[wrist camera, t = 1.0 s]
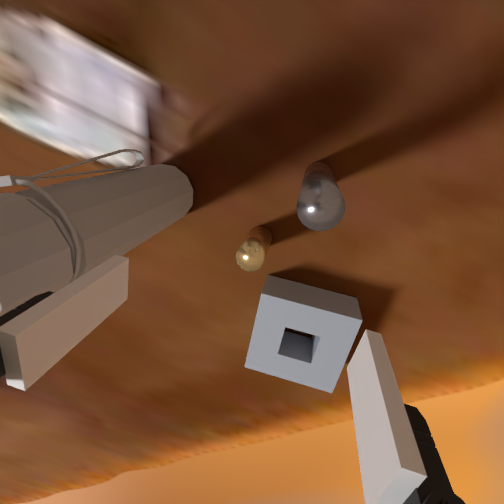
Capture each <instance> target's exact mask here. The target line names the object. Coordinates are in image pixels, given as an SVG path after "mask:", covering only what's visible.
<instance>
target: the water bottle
mask: <svg viewBox="0 0 504 504" xmlns="http://www.w3.org/2000/svg"><path fill="white" fill-rule="evenodd" d="M121 152H131V153H133V154H135V155H136V158H137V162H136V163H135V164H134V165H133V166H127V167H119V168H112V169H104V170H96V171H89V172H81V173H74V174H66V175H59V176H51V177H44V178H36V177H39V176H43V175H46V174H50V173H53V172H56V171H60V170H63V169H67V168H70V167H73V166H77V165H80V164H83V163H87V162H90V161H94V160H97V159H100V158H104V157H107V156H111V155H114V154H117V153H121ZM143 160H144V159H143V156H142V153H141V152H140V151H137V150H131V149H124V150H118V151H115V152H111V153H108V154H105V155H101V156H98V157H95V158H91V159H88V160H85V161H81V162H78V163H74V164H71V165H68V166H64V167H61V168H58V169H54V170H51V171H47V172H44V173H41V174H37V175H34V176H31V177H28V176H2V177H0V187H1V186H9V185H18V184H20V185H23V186H27V187H29V188H31V189H29V190H24V191H18V192H17V193H15V194H11V193H0V316H2V315H4V314H5V313H7V312H9V311H10V310H12V309H15V308H16V307H17V306H19V305H21V304H24V302H26V301H27V300H29V299H31V298H32V297H34V296H36V295H39V294H42V293H45V292H48V291H51V292H54V293H55V292H57V291H58V290H60V289H61V288H63V287H65V286H66V285H68V284H69V283H71V282H73V281H74V280H76V279H78V278H79V277H81V276H82V275H84V274H86V273H87V272H89V271H90V270H92V269H94V268H95V267H97V266H98V265H100V264H102V263H103V262H105V261H106V260H108V259H110V258H111V257H113V256H114V255H119V256H122V255H124V254H125V253H127V252H128V251H130V250H131V249H133V248H135V247H136V246H138V245H139V244H141V243H143V242H144V241H146V240H147V239H149V238H151V237H152V236H154V235H155V234H157V233H158V232H160V231H162V230H163V229H165V228H166V227H168V226H170V225H171V224H173V223H174V222H176V221H177V220H179V219H181V218H182V217H184V216H185V215H186V214H187V212H188V211H189V209H190V208H191V207H192V205H193V188H192V186H191V184H190V182H189V180H188V177H187V176H186V175H185V174H184V173H183V172H181V171H180V170H179V169H178V168H176V167H175V166H171V165H165V164H157V165H152V166H147V167H142V168H137V169H131V170H126V171H121V172H116V173H111V174H106V175H101V176H95V177H90V178H85V179H80V180H75V181H70V182H65V183H60V184H54V185H49V186H44V187H38V186H37V185H35V184H34V183H33V180H40V179H48V178H57V177H65V176H73V175H81V174H89V173H98V172H106V171H114V170H122V169H130V168H134V167H137V166H140V165H141V164H142V162H143ZM33 178H36V179H33Z"/></svg>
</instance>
